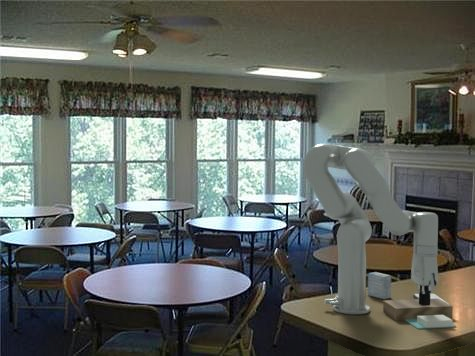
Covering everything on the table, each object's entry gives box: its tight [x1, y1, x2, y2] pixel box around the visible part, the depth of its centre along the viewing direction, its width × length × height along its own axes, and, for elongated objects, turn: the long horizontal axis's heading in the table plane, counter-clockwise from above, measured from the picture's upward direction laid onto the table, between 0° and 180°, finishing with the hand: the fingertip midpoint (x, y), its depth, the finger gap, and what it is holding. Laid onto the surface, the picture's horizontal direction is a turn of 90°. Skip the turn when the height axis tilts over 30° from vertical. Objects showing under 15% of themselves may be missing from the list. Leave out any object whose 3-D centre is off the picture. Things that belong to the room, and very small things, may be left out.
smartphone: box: [412, 293, 451, 305], centre depth 209 cm, size 9×2×16 cm
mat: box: [404, 319, 457, 330], centre depth 182 cm, size 13×9×1 cm
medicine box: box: [367, 271, 392, 300], centre depth 216 cm, size 8×4×9 cm, turn 34°
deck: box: [382, 298, 454, 321], centre depth 192 cm, size 20×10×4 cm, turn 99°
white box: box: [417, 315, 454, 329], centre depth 181 cm, size 9×6×2 cm, turn 99°
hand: (424, 304), depth 187 cm, fingers closed
